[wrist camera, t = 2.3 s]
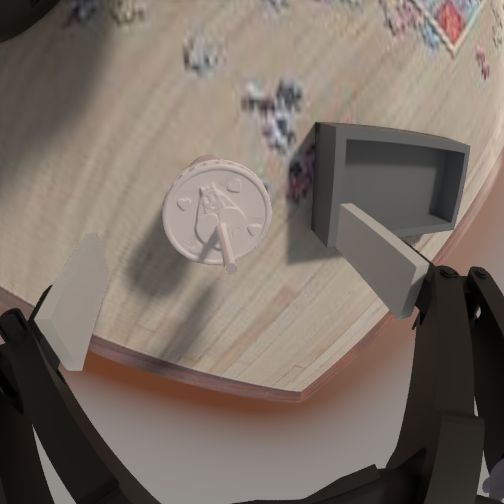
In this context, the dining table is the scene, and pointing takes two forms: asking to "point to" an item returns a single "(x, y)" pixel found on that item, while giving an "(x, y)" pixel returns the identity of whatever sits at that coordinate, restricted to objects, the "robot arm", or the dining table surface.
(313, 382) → the dining table surface
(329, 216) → the tray
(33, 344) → the robot arm
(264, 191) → the smoothie
